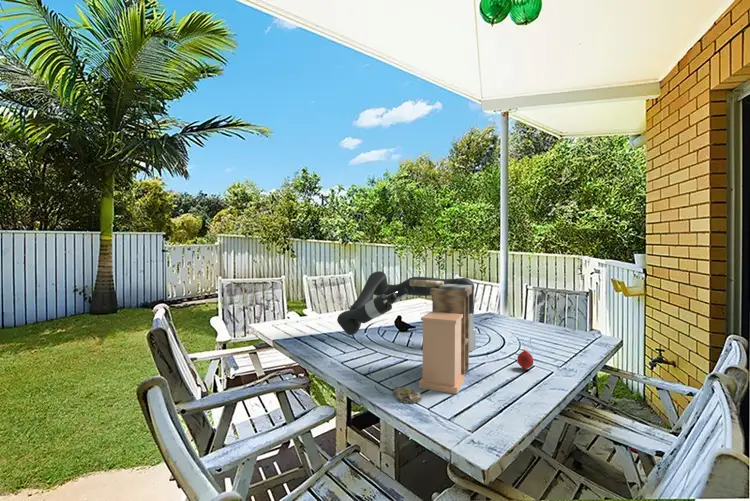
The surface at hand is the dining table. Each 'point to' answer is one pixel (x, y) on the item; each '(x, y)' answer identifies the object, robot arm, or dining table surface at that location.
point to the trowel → (439, 285)
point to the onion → (525, 359)
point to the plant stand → (458, 305)
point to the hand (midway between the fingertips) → (410, 288)
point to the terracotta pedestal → (442, 352)
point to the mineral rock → (406, 395)
